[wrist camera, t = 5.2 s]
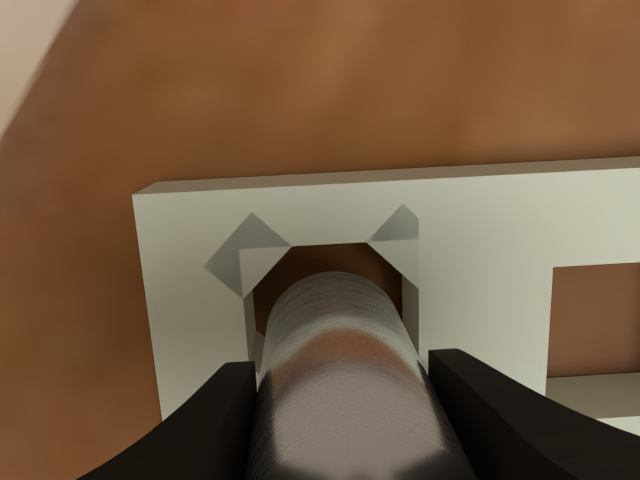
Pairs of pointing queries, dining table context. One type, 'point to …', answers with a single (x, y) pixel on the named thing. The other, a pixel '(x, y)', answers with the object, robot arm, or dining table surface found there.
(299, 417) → the cylinder
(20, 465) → the dining table surface
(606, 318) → the dining table surface
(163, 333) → the sage board
